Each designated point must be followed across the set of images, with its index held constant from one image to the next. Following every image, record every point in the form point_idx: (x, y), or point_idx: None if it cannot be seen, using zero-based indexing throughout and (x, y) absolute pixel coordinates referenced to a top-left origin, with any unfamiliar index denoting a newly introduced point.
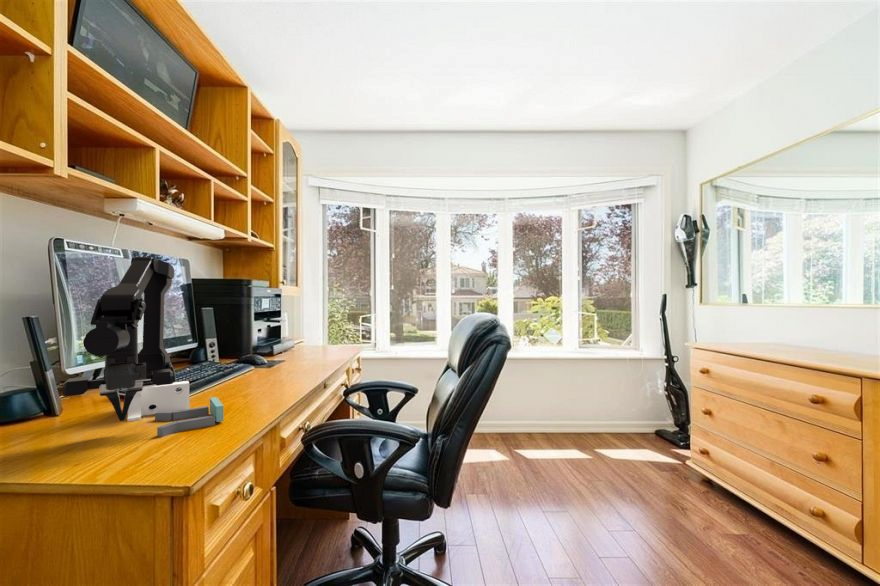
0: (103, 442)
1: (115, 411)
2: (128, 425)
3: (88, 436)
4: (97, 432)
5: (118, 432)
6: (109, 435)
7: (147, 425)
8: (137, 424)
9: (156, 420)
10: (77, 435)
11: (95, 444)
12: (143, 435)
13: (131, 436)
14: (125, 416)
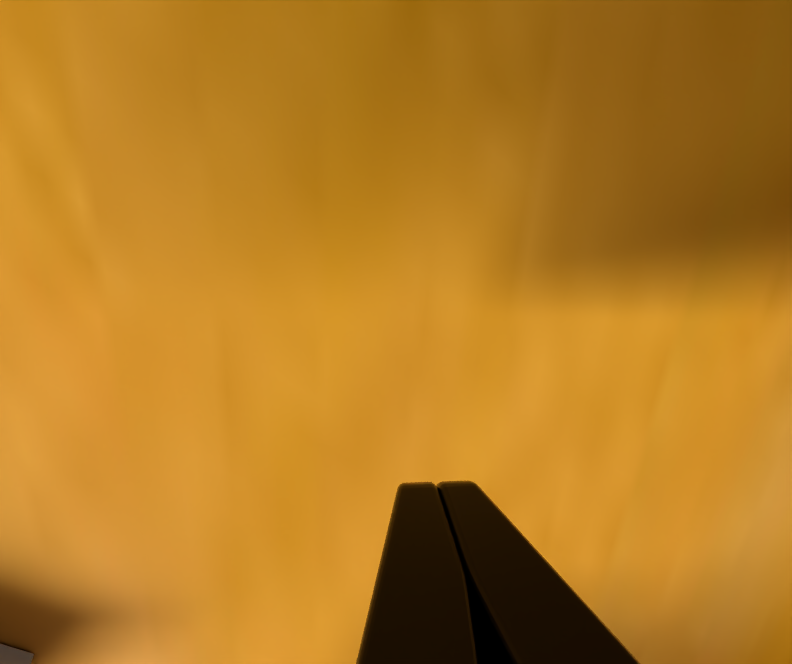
0: (661, 91)
1: (628, 651)
2: (314, 639)
3: (701, 481)
4: (601, 564)
5: (426, 456)
6: (529, 394)
7: (101, 552)
8: (224, 632)
9: (10, 657)
10: (756, 562)
11: (767, 59)
12: (82, 63)
13: (278, 147)
14: (391, 536)
